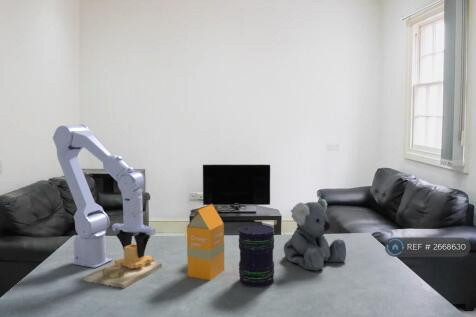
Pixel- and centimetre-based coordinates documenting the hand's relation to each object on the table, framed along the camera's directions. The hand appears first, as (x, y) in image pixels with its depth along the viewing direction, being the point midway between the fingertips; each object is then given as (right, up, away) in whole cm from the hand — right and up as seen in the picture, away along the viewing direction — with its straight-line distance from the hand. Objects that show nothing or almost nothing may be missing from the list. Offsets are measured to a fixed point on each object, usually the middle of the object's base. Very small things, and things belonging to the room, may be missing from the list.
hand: (134, 255), depth 137 cm
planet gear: (0, -2, 0) cm, 2 cm away
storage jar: (+37, -5, -11) cm, 39 cm away
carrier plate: (-2, -4, -4) cm, 6 cm away
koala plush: (+54, -3, +6) cm, 55 cm away
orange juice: (+22, -4, -4) cm, 23 cm away
